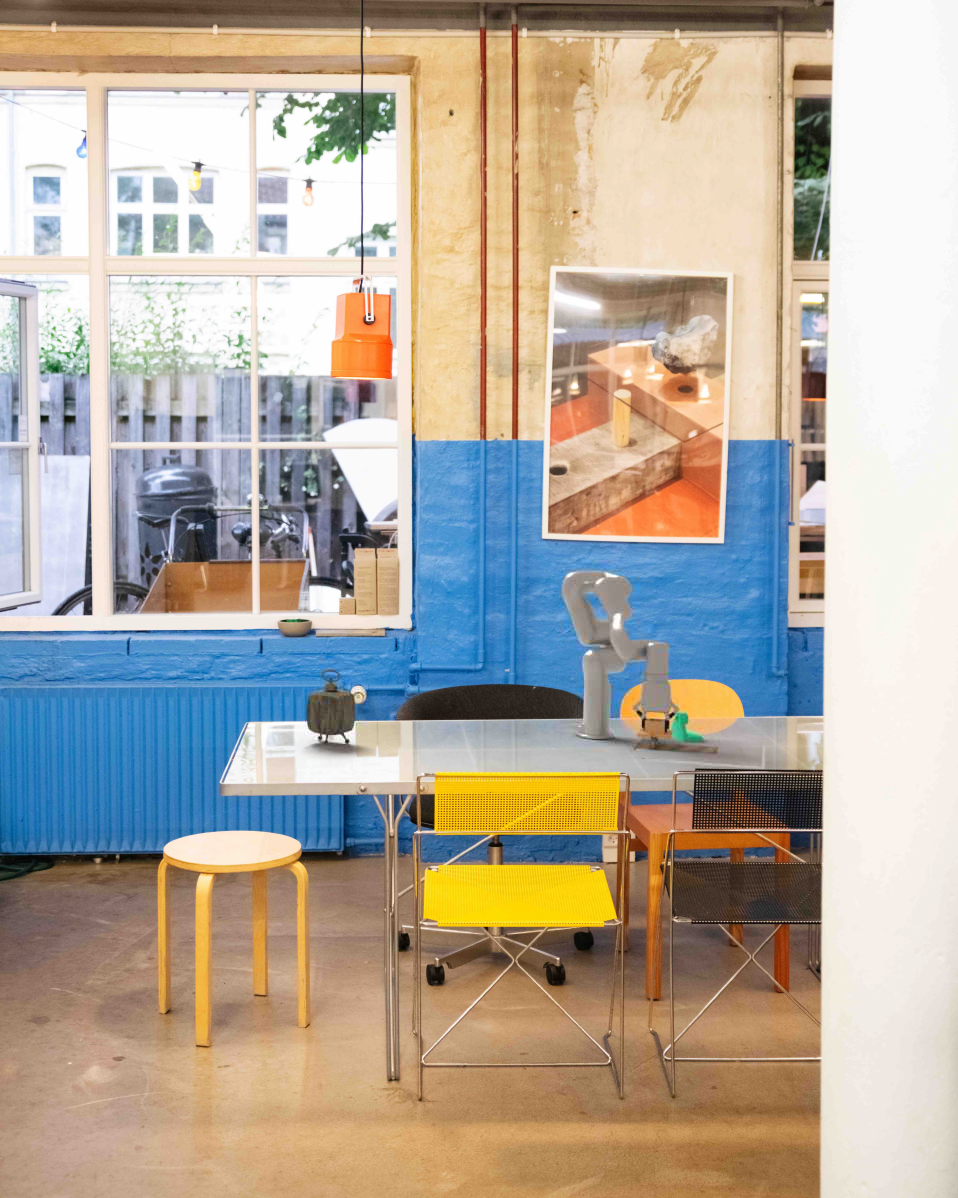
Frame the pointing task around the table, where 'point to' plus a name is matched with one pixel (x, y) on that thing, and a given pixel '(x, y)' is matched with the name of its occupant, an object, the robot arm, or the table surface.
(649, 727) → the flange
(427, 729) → the table surface
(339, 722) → the tabletop clock
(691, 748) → the board
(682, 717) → the camera mount
